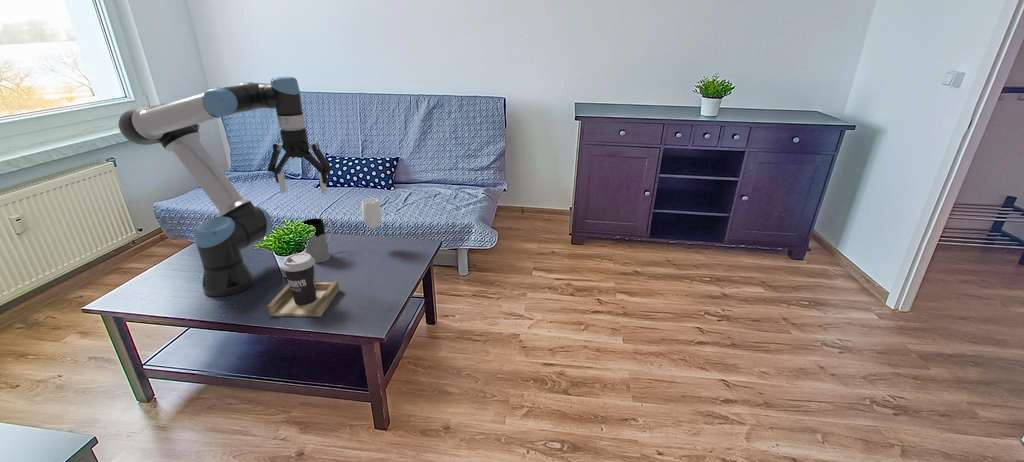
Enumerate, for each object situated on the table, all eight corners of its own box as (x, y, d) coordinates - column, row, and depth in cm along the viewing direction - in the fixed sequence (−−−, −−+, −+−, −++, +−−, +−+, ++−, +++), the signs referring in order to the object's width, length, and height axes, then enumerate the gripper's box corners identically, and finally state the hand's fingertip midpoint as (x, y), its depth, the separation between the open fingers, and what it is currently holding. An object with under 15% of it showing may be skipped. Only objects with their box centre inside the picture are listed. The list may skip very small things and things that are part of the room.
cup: (380, 253, 184) (375, 204, 176) (363, 252, 185) (357, 203, 177) (387, 245, 191) (382, 198, 183) (371, 244, 192) (365, 197, 183)
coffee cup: (289, 295, 152) (280, 254, 146) (320, 289, 156) (313, 249, 150) (289, 310, 144) (280, 267, 138) (322, 303, 148) (314, 262, 142)
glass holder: (301, 260, 178) (294, 224, 172) (327, 246, 190) (322, 212, 184) (319, 264, 175) (312, 228, 169) (344, 249, 187) (339, 215, 181)
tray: (269, 315, 143) (267, 306, 142) (292, 289, 158) (290, 280, 156) (320, 316, 143) (318, 307, 141) (339, 290, 157) (337, 281, 156)
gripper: (247, 130, 143) (261, 195, 151) (327, 131, 142) (337, 196, 151) (259, 125, 150) (272, 188, 158) (336, 126, 149) (345, 189, 158)
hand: (304, 192), depth 154 cm, fingers open, 13 cm apart
